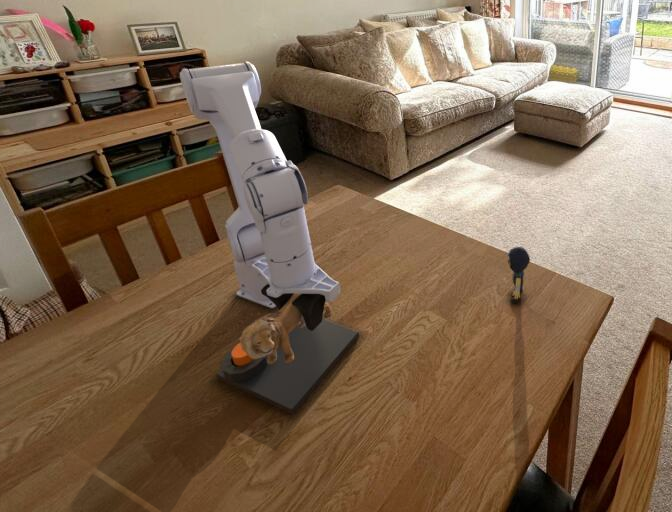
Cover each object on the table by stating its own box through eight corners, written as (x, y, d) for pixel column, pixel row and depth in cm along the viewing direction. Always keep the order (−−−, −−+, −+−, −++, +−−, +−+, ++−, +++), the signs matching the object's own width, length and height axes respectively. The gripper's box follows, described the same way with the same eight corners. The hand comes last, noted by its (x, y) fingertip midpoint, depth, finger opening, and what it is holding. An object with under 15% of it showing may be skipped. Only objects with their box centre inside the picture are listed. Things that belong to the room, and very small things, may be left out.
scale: (216, 379, 62) (212, 365, 60) (292, 311, 74) (289, 298, 73) (292, 415, 57) (288, 401, 56) (359, 336, 69) (357, 323, 68)
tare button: (228, 362, 61) (226, 354, 61) (247, 345, 64) (245, 337, 64) (244, 369, 60) (241, 360, 60) (262, 351, 63) (260, 343, 63)
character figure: (507, 280, 82) (509, 232, 78) (527, 281, 82) (530, 233, 78) (505, 317, 74) (506, 264, 69) (527, 318, 74) (530, 265, 69)
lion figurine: (281, 389, 53) (259, 339, 50) (246, 387, 54) (222, 337, 51) (340, 304, 67) (325, 260, 64) (311, 303, 68) (295, 260, 65)
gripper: (224, 253, 56) (245, 327, 61) (306, 281, 51) (322, 358, 56) (268, 225, 62) (285, 294, 67) (345, 248, 57) (356, 319, 62)
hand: (304, 321), depth 62 cm, fingers closed on lion figurine, 4 cm apart
